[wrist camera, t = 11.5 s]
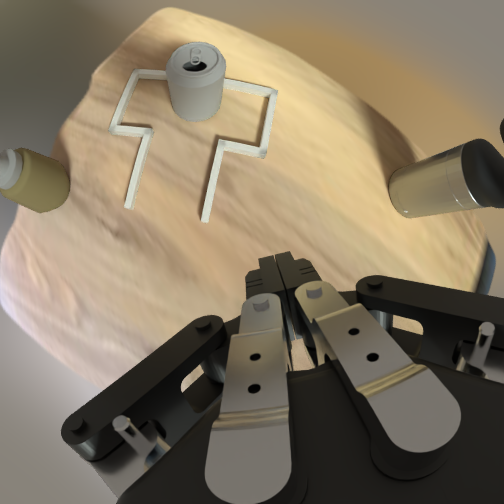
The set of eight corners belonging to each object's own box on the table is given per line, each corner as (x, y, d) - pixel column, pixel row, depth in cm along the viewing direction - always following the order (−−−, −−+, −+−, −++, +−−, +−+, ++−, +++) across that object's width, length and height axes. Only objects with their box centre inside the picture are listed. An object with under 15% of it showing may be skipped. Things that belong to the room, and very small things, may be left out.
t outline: (250, 231, 39) (252, 230, 37) (91, 202, 35) (87, 201, 34) (275, 94, 40) (278, 90, 38) (135, 73, 36) (134, 68, 34)
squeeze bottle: (35, 176, 33) (-33, 144, 15) (73, 158, 34) (11, 111, 17) (40, 222, 34) (-35, 208, 16) (80, 205, 35) (8, 178, 17)
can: (169, 124, 37) (159, 80, 25) (176, 85, 37) (169, 37, 25) (219, 125, 38) (225, 81, 26) (222, 86, 38) (229, 38, 26)
